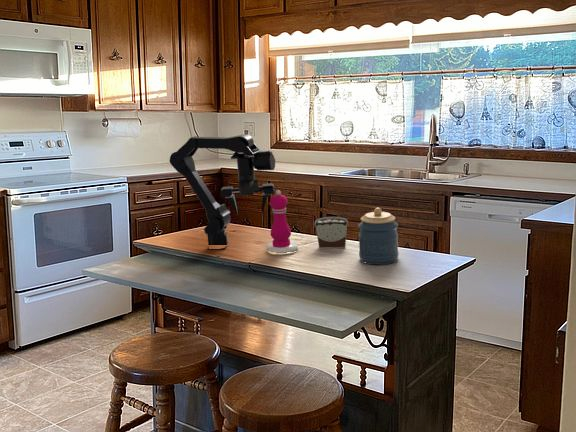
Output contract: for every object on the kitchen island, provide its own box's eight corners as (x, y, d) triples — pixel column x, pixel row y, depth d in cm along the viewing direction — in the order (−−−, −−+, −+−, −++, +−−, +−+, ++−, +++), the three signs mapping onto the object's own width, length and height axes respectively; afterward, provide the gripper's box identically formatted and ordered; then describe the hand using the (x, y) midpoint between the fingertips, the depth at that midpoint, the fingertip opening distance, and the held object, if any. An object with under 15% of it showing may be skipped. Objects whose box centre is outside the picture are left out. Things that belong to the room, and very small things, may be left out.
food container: (349, 242, 235) (348, 215, 232) (349, 247, 229) (348, 220, 226) (315, 243, 236) (314, 216, 233) (314, 248, 230) (313, 221, 227)
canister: (375, 251, 223) (374, 201, 218) (406, 258, 214) (406, 206, 209) (351, 260, 214) (349, 209, 210) (382, 268, 205) (381, 214, 201)
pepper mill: (268, 244, 231) (264, 189, 226) (287, 241, 233) (284, 187, 229) (275, 249, 224) (272, 193, 219) (294, 246, 227) (291, 190, 222)
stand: (266, 255, 224) (266, 250, 224) (267, 246, 235) (267, 241, 234) (298, 254, 224) (298, 248, 224) (297, 245, 235) (297, 239, 234)
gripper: (217, 176, 219) (221, 221, 222) (272, 172, 219) (275, 217, 222) (220, 171, 229) (224, 213, 233) (272, 167, 229) (275, 209, 233)
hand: (249, 213), depth 230 cm, fingers open, 9 cm apart
